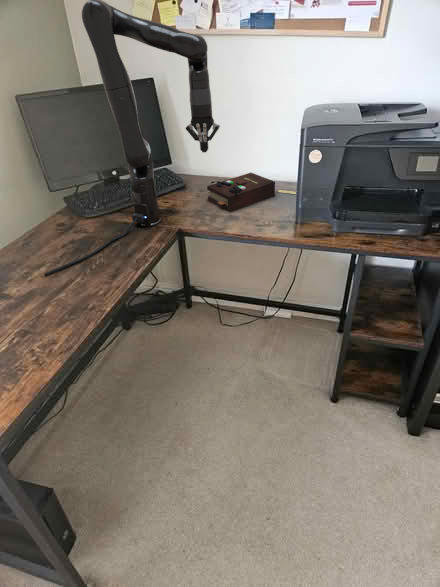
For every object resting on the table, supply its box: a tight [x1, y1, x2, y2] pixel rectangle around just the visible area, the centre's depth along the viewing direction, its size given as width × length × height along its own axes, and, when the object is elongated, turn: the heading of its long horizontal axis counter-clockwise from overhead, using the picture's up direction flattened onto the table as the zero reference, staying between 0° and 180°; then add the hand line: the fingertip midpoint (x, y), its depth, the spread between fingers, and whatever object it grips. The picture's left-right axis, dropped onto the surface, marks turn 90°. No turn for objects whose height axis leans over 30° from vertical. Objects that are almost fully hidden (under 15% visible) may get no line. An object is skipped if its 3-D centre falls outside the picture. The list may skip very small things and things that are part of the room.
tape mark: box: [277, 189, 297, 195], centre depth 184 cm, size 2×9×1 cm, turn 64°
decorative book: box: [206, 172, 276, 213], centre depth 179 cm, size 19×8×30 cm
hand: (204, 151), depth 151 cm, fingers closed
